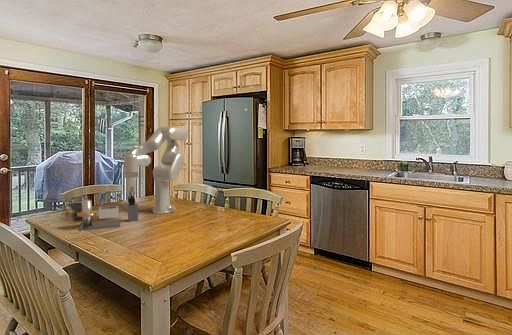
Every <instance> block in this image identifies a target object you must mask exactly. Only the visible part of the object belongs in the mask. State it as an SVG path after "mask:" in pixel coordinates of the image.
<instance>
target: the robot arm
mask: <svg viewBox="0 0 512 335" xmlns="http://www.w3.org/2000/svg"><path fill="white" fill-rule="evenodd" d="M188 137H189V132H188V130H187V129H186V128H184V127H176V126H159V127H158V128H157V129H155V131H154V132H153V134H152V135H151V136H150V137H149V139H148V140H146V141H144V142H143V143H140V144H139V145H138V146H136V147H135V148H134V149H133V150H132V152H130V153H129V154H126V155H125V156H124V179H126V180H125V184H126V185H125V193H126V194H125V195H126V196H127V195H128V196H127V202H128V204H129V205H135V204H136V197H135V195H136V194H137V178H139V167H148V166H149V165H150V164H151V162H152V158H151V156H150V155H148V154H149V153H152V152H156V151H157V150H159V149H160V147H161V146H162V145H163V144H164V143H165V141H166V148H165V149H164V152H163V154H162V156H161V160H160V162H161V164H162V165H161V164H160V165H156V166H155V167H154V168H153V169H152V176H153V180H154V181H153V184H154V209H153V210H152V213H153V214H156V215H157V214H159V215H160V214H162V215H163V214H169V213H172V212H173V211H174V210H176V206H172V204H170V183H169V181H175V180H177V179H178V177H179V174H180V172H181V170H182V169H183V166H184V164H185V163H184V162H185V156H184V155H183V154H182V153H180V152H179V150H180V146H179V144H178V141H185V140H186V139H187V138H188Z"/></svg>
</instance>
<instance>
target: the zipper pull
mask: <svg viewBox="0 0 512 335" xmlns="http://www.w3.org/2000/svg"><path fill="white" fill-rule="evenodd" d="M68 206H69V207H70V208H71V209H72V210H73V211H74V212H73V214H72V216H73V219H74V221H77V222H78V221H80V220H81V221H83V219H82V217H78V216H77V213H79V212H82V202H72V203H69V204H68Z"/></svg>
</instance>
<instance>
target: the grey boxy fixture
mask: <svg viewBox="0 0 512 335" xmlns="http://www.w3.org/2000/svg"><path fill="white" fill-rule="evenodd" d="M81 203H82V212H79V213H77V216H78V217H82V219H83V220H82V222H81V223H80V226H79V231H80V232H81V231H82V230H83V231H91V230H92V229H93V230H99V229H101V230H103V229H108V228H109V229H110V228H120V227H121V223H120V219H112V220H111V219H110V218H119V217H120V213H119V212H120V211H119V209H120V208H119V205H111V206H99V207H98V210H93V203H92V199H83V200H82V201H81ZM93 216H99V217H98V218H99V221H93ZM100 219H101V220H100ZM102 219H107V220H102ZM108 219H109V220H108Z"/></svg>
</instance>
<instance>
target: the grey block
mask: <svg viewBox="0 0 512 335" xmlns="http://www.w3.org/2000/svg"><path fill="white" fill-rule="evenodd" d="M138 205H139V203H135V205H129V203H128V204H127V208H126V209H127V222H128V223H131V222H138V221H139V206H138Z"/></svg>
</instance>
